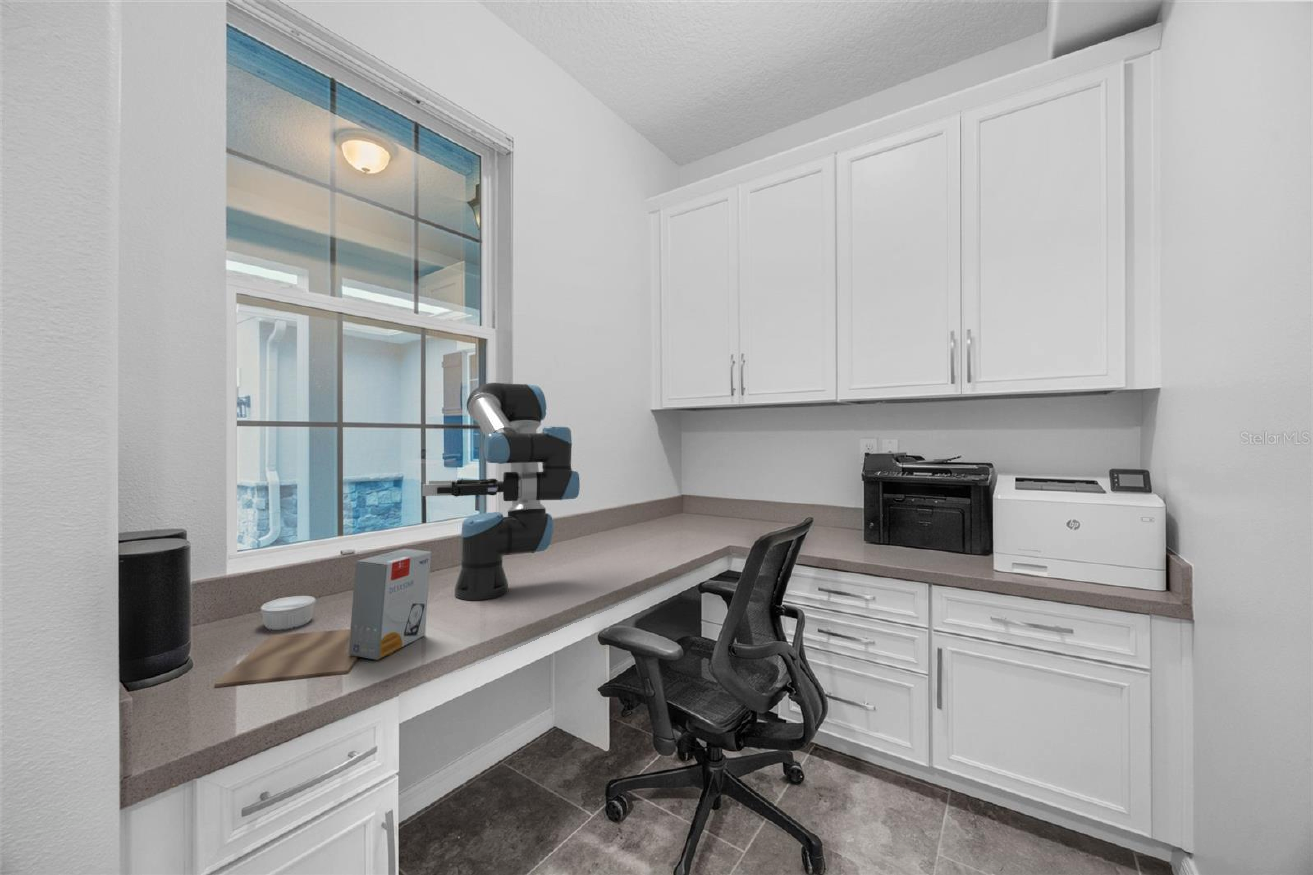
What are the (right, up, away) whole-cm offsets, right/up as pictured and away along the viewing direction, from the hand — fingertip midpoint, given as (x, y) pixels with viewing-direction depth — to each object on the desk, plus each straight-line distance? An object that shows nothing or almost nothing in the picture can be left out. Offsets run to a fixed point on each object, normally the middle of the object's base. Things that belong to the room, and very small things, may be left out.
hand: (425, 488), depth 128 cm
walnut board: (-18, -34, -17) cm, 42 cm away
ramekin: (-34, -34, +1) cm, 48 cm away
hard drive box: (-2, -34, -13) cm, 36 cm away
